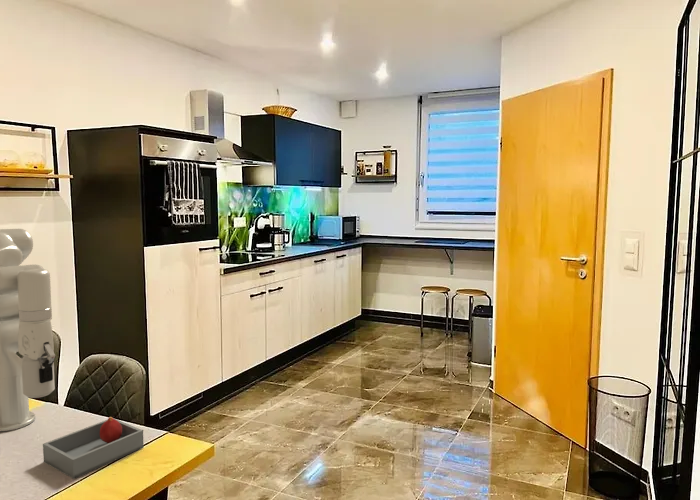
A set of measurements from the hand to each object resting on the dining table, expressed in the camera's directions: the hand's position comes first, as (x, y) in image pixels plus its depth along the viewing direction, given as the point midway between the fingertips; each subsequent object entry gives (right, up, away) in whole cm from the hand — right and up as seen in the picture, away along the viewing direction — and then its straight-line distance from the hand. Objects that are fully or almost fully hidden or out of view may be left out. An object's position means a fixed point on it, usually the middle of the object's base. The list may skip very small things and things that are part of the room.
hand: (38, 377), depth 141 cm
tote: (+16, -21, -1) cm, 26 cm away
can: (0, -5, +1) cm, 5 cm away
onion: (+18, -20, +4) cm, 27 cm away
